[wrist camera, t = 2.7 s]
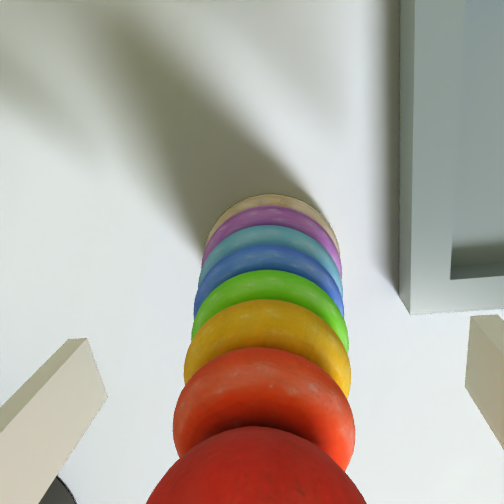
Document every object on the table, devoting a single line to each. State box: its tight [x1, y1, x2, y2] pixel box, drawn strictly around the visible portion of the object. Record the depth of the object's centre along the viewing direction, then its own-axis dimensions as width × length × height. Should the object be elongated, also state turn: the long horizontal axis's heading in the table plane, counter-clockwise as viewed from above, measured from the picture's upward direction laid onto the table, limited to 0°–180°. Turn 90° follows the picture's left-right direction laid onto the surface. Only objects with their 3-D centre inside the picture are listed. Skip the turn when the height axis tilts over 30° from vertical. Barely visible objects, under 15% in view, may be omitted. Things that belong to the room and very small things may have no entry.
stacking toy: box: [146, 194, 367, 504], centre depth 13 cm, size 8×8×19 cm
